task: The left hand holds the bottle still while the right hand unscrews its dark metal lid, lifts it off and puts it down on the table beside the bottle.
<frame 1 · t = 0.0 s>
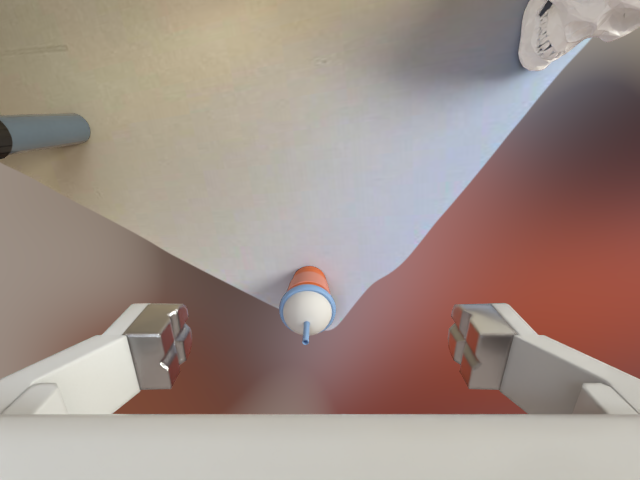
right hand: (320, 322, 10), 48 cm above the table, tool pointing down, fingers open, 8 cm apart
bottle: (75, 128, 54), on the table
cup with straw: (309, 279, 64), on the table
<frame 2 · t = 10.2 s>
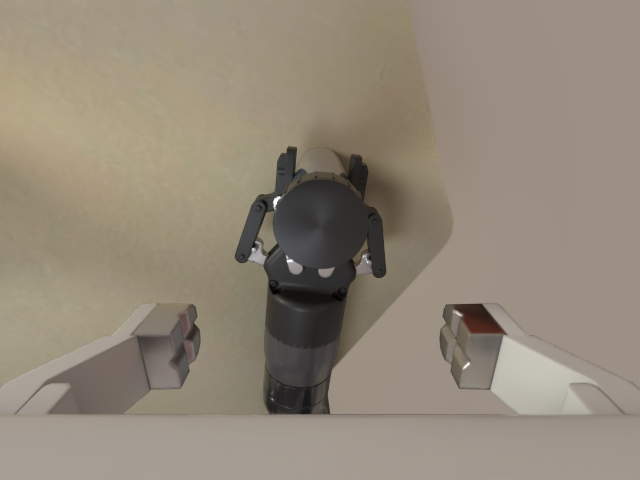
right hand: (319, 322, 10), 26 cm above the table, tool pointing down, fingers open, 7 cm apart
bottle: (320, 170, 35), on the table, touching left hand
lid: (320, 224, 19), point 17 cm above the table, screwed on, not yet turned
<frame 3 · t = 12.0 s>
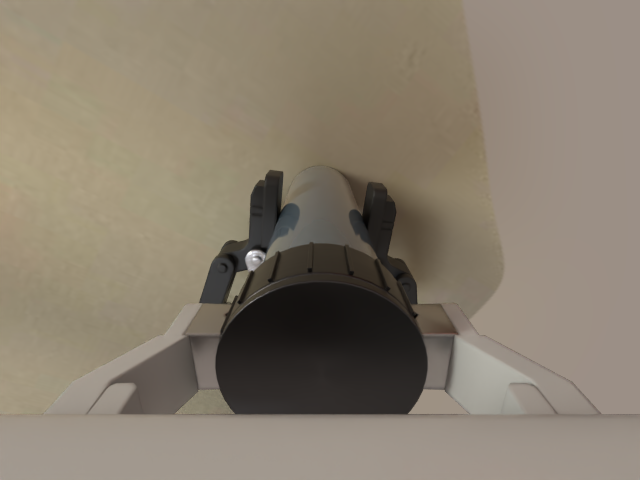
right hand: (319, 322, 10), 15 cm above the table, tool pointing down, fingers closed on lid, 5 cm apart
bottle: (320, 198, 25), on the table, touching left hand
lid: (321, 364, 9), point 17 cm above the table, screwed on, not yet turned, touching right hand
when the right hand's fingers open (15 cm above the table, at t = 13.4 s): lid stays where it is, point 17 cm above the table.
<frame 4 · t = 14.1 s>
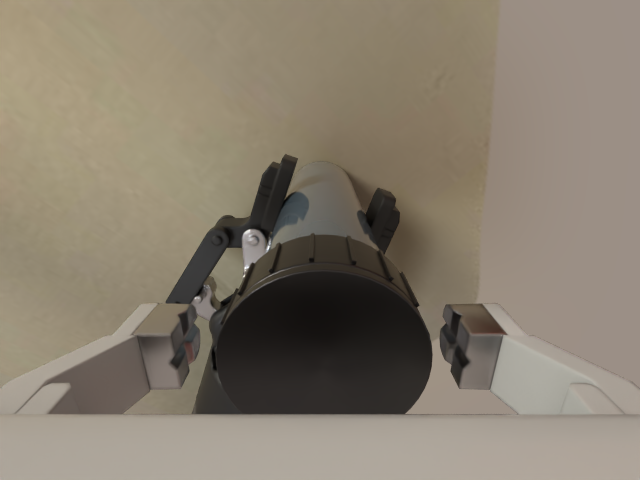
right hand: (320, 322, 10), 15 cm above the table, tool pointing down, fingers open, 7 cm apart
bottle: (321, 193, 25), on the table, touching left hand
lid: (323, 357, 9), point 17 cm above the table, turned 77° so far, risen 0.2 cm, still on its thread
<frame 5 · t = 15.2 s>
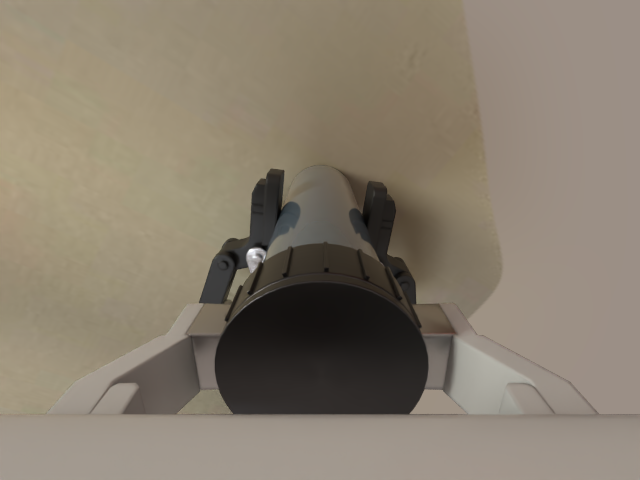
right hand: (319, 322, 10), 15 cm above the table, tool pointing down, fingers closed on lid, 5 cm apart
bottle: (320, 197, 25), on the table, touching left hand
lid: (321, 365, 9), point 17 cm above the table, turned 77° so far, risen 0.2 cm, still on its thread, touching right hand
when the right hand's fingers open (2 cm above the table, at t = 22.0 s): lid drops 2 cm, point 2 cm above the table.
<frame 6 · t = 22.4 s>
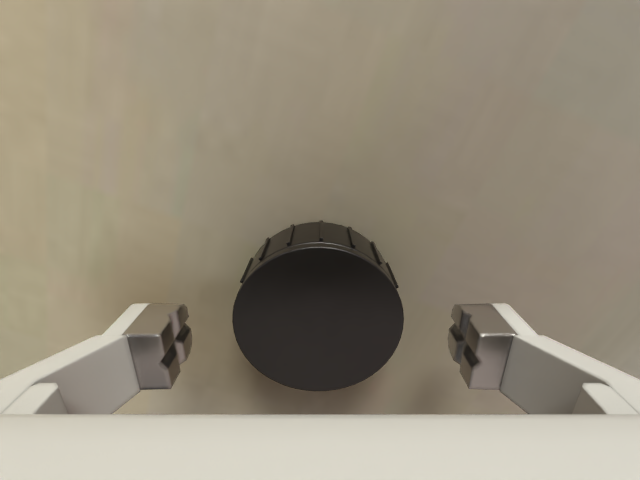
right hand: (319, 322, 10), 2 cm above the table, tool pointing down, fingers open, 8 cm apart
lid: (318, 319, 11), point 2 cm above the table, off its thread
when the left hand's fingers open (7 cm above the table, at t = 23.1 s): bottle stays where it is, on the table.
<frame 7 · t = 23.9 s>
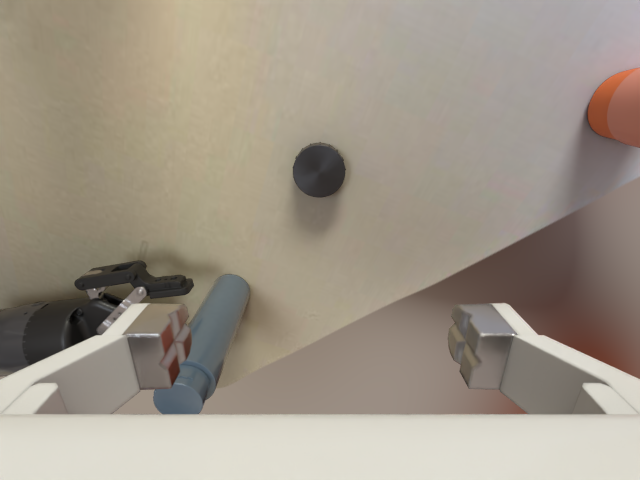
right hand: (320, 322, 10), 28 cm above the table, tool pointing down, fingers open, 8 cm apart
left hand: (200, 321, 35), fingers open, 8 cm apart
bottle: (231, 290, 42), on the table
lid: (319, 171, 34), point 2 cm above the table, off its thread
cup with straw: (616, 105, 34), on the table
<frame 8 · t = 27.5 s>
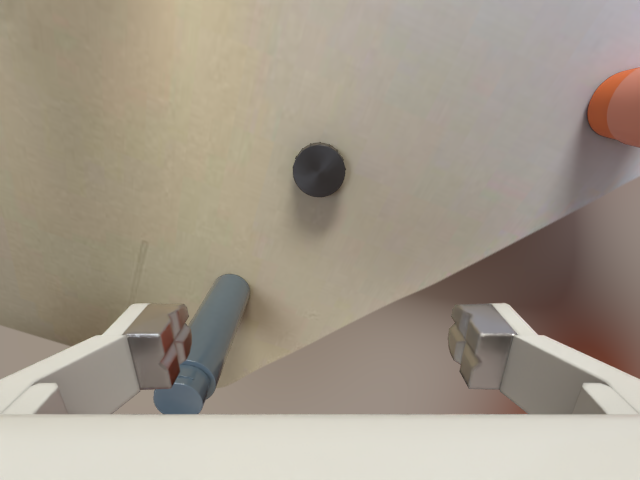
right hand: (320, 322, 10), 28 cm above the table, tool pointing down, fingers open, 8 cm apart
bottle: (231, 290, 42), on the table
lid: (319, 171, 34), point 2 cm above the table, off its thread
cup with straw: (616, 105, 34), on the table
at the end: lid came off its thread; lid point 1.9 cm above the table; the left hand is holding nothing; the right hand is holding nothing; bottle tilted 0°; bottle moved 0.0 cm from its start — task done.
